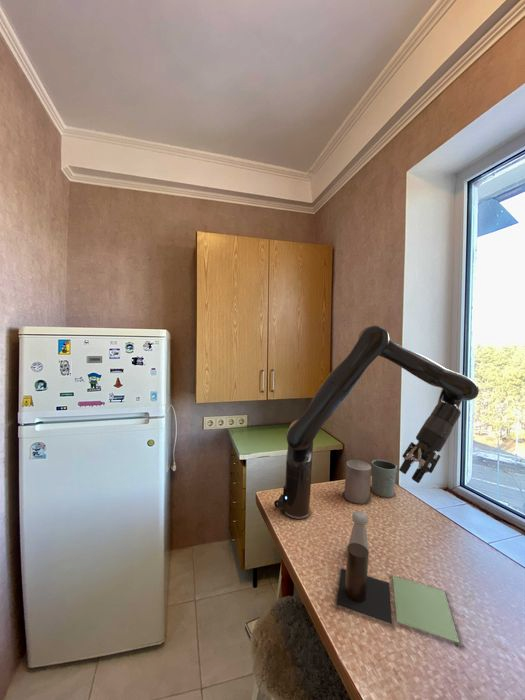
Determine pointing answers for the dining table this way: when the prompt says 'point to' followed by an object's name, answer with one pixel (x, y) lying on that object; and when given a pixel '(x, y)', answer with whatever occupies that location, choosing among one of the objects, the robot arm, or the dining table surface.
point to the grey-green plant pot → (383, 477)
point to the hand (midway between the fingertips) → (408, 476)
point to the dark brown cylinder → (356, 572)
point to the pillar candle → (357, 481)
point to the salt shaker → (359, 529)
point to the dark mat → (368, 599)
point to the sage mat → (423, 608)
